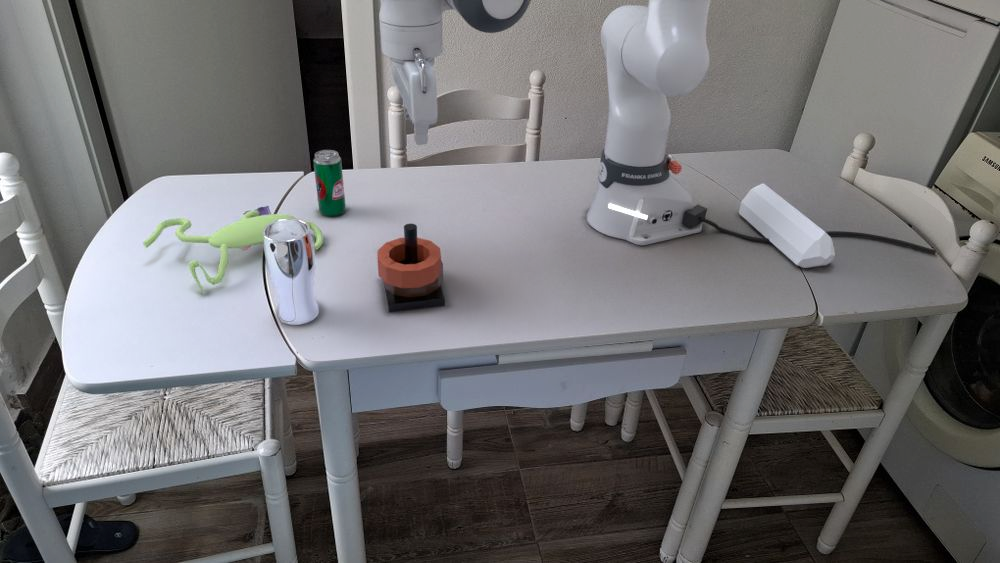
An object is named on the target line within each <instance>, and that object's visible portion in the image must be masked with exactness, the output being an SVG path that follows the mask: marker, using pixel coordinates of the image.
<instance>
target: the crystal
mask: <svg viewBox="0 0 1000 563" xmlns="http://www.w3.org/2000/svg"><path fill="white" fill-rule="evenodd" d="M738 214H739V215H740V216H741V217H742V218H743V219H745V220H746V221H747V223H749V224H750V225H751V226H752V227H753V228H755V229H756V230H757V231H758V232H759V233H760V234H761V235H762V236H763V237H764V238H768V239H769V241H770V242H769V243H771V244H772V245H773V246H774V247H776V249H778V250H779V251H780V252H781V253H782V254H783V255H785V256H786V257H787V258H788V259H789V260H790V261H791V262H793V263H794V264H795V265H796V266H799V267H800V268H803V269H808V268H816V267H823V266H827V265H829V264H830V263H831V262H832V261H833V260H834V258H835V257H836V254H835V252H836V251H835V247H834V243H833V238H832V237H831V235H828V234H827V233H826V232H827V231H825V230H824V229H822V228H821V227H820V226H819V225H817V224H816V223H815V222H813V221H812V220H811V219H810V218H808V217H807V216H806V215H805V214H803V213H802V212H801V211H799V210H798V209H797V208H796V207H794V206H793V205H792V204H790V203H789V202H788V201H787V200H785V199H784V198H783V197H782V196H780V194H778V193H777V192H775V191H774V190H773V189H772V188H770V187H769V186H768V185H766V184H765V183H764V182H763V183H760V184H758V185H756V186H754V187H752V188H751V189H750V190H749V191H748V193H746V195H745V196H744V198H743V199H742V200H741V201H740V207H739V209H738Z"/></svg>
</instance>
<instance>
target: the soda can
mask: <svg viewBox="0 0 1000 563" xmlns="http://www.w3.org/2000/svg"><path fill="white" fill-rule="evenodd" d="M312 162H313V163H312V164H313V169H314V170H313V172H314V180H315V187H316V188H315V189H316V195H317V203H318V204H317V205H318V211H319V213H320V214H321V215H322V216H325V217H328V218H329V217H331V218H333V217H339V216H342V215H343V214H344V212H346V210H347V205H346V196H345V186H344V185H345V184H344V175H343V166H342V165H343V164H342V163H343V162H342V157H340V155H339V152H338V151H336V150H332V149H322V150H319V151H316V152H315V153H314V158H313V160H312Z"/></svg>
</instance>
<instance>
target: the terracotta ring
mask: <svg viewBox="0 0 1000 563" xmlns="http://www.w3.org/2000/svg"><path fill="white" fill-rule="evenodd" d="M417 244H418V261H422V262H420V263H417V264H405V265H404V264H401V263H397V262H400V261H402V260H405V243H404V237H398V238H396V239H395V238H394V239H393V240H389V241H386V242H384V244H383V245H382V246H381V247H380V248H379V249H377V258H376V259H377V273H378V277H379V278H380V280H381V279H382V280H383V281H385V282H386V283H387V284H389V285H393V286H396V287H400V288H418V287H422V286H425V285H427V284H430V283H433V282H434V281H435V280H436V279H437V278H438V277H439V275H440V274H441V261H442V253H441V252H442V251H441V247H440V246H438V245H437V244H436V243H435V242H433V241H432V240H429V239H425V238H421V237H417ZM382 280H381V281H382Z"/></svg>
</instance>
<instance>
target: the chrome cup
mask: <svg viewBox="0 0 1000 563" xmlns="http://www.w3.org/2000/svg"><path fill="white" fill-rule="evenodd" d="M311 231H312V230H311V229H310V226H309V224H308V223H306V220H302V219H299V218H295V219H281V220H277V221H274V222H271V223H269V224H268V225H266V226H265V227H264V229H263V232H262V233H263V242H264V243H263V251H264V258H265V263H266V268H267V270H268V273H269V276H270V278H271V281H272V284H273V286H274V288H275V291H276V295H277V299H278V314H277V315H278V318H279V320H280V321H281V322H282V323H284V324H285V325H290V326H300V325H302V326H303V325H305V324H308V323H311V322H312V321H314V320H316V318H317V317H318V316H319V313H320V308H319V304H318V302H317V301H318V300H317V299H316V295H315V277H316V253H315V251H316V250H314V240H313V236H312V233H311Z"/></svg>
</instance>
